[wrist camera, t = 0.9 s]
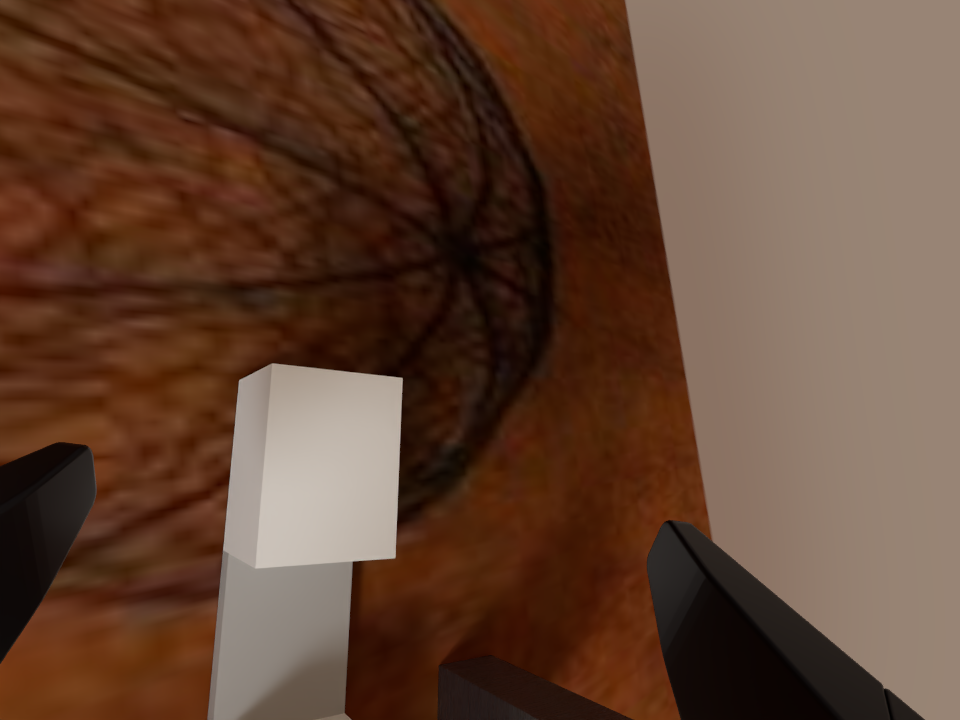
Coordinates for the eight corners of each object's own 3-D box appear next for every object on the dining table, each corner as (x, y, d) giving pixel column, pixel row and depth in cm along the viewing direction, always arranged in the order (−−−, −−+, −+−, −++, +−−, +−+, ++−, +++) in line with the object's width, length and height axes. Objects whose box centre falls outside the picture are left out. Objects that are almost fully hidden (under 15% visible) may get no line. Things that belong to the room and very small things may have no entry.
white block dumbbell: (324, 890, 23) (378, 980, 19) (186, 944, 21) (214, 1063, 16) (353, 391, 27) (402, 377, 23) (238, 380, 24) (272, 363, 20)
